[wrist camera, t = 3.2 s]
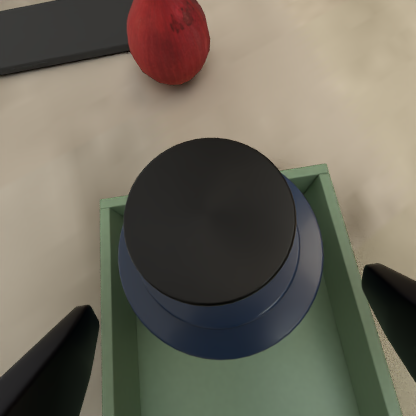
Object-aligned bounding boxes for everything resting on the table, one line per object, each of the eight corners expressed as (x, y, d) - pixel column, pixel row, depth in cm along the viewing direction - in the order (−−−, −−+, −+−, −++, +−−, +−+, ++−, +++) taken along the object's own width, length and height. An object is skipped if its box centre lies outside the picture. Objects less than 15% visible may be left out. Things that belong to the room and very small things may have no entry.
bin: (389, 495, 13) (454, 582, 10) (139, 523, 14) (104, 615, 10) (306, 188, 19) (326, 162, 15) (126, 217, 19) (99, 199, 15)
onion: (206, 46, 23) (194, -73, 15) (218, 98, 21) (211, -6, 14) (142, 59, 23) (99, -52, 16) (149, 112, 22) (104, 17, 14)
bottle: (262, 331, 16) (388, 506, 3) (165, 303, 17) (-31, 353, 4) (281, 232, 17) (412, 92, 5) (191, 211, 18) (106, 50, 6)
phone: (145, 40, 23) (-20, 72, 23) (148, 49, 23) (-12, 79, 24) (139, -17, 25) (-12, 12, 25) (141, -8, 26) (-5, 21, 26)
